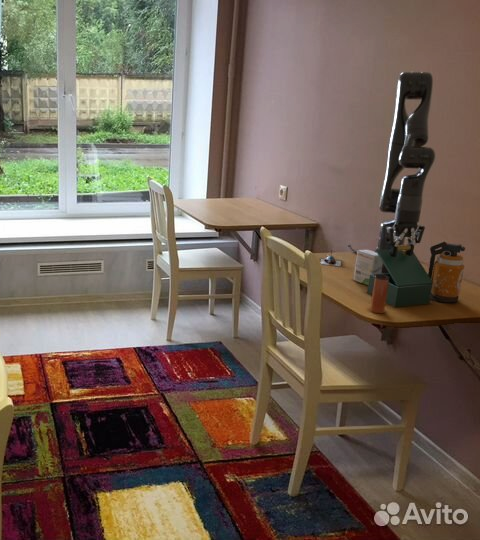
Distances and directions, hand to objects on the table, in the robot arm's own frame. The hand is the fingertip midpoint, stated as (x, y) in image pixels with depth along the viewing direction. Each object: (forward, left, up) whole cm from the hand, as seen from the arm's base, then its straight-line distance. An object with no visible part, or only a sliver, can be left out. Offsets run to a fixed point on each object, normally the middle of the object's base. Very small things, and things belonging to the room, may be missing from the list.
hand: (400, 255), depth 206 cm
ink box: (-15, 0, -15) cm, 22 cm away
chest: (+2, 0, -15) cm, 15 cm away
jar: (+11, -15, -15) cm, 24 cm away
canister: (+6, +14, -15) cm, 21 cm away
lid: (+2, 0, -4) cm, 4 cm away
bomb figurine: (-42, +2, -15) cm, 44 cm away
